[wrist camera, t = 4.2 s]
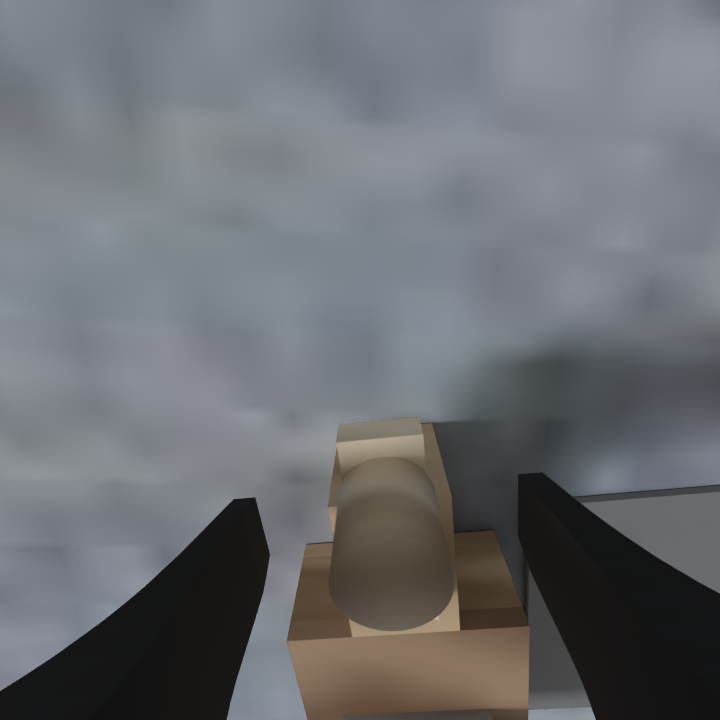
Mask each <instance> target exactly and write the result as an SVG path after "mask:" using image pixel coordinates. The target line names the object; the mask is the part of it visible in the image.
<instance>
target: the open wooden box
mask: <svg viewBox="0 0 720 720" xmlns="http://www.w3.org/2000/svg"><path fill="white" fill-rule="evenodd" d="M421 426H422V431H423V438H424V449H425V461H426V473H427V475H428V476H429V478H430V479H431V481H432V483H433V486H434V489H435V493H436V498H437V503H438V507H439V512H440V517H441V521H442V526H443V531H444V535H445V540H446V545H447V549H448V554H449V558H450V563H451V568H452V572H453V577H454V591H453V596H452V598H451V601H450V602H449V604H448V606H447V607H446V608H445V610H444V611H443V612H442V613H441V614H440V615H439V620H432V621H430V622H428V623H426V624H424V625H422V626H420V627H416V628H413V629H409V630H403V631H381V630H375V629H371V628H367V627H364V626H362V625H359V624H357V623H355V622H353V621H352V620H350V619H349V622H350V628H351V633H352V637H364V636H380V635H397V634H413V633H429V632H445V631H460V620H459V611H461V610H476V609H491V608H507V607H522V604H521V602H520V599H519V596H518V594H517V591H516V588H515V585H514V583H513V580H512V577H511V575H510V572H509V569H508V567H507V564H506V561H505V558H504V556H503V553H502V550H501V548H500V545H499V542H498V540H497V537H496V534H495V532H494V530H488V531H475V532H462V533H454V525H453V509H452V496H451V492H450V488H449V485H448V481H447V477H446V473H445V470H444V466H443V462H442V459H441V455H440V451H439V447H438V444H437V440H436V436H435V432H434V429H433V425H432V423H426V424H421ZM341 484H342V475H341V469H340V463H339V457H338V451H337V449H336V456H335V463H334V469H333V476H332V483H331V489H330V496H329V503H328V511H329V516H330V521H331V527H332V532H333V537H334V531H335V522H336V514H337V506H338V497H339V490H340V486H341ZM332 548H333V543H322V544H309V545H306V547H305V552H304V557H303V562H302V567H301V572H300V577H299V582H298V588H297V593H296V598H295V603H294V608H293V613H292V618H291V622H292V621H307V620H322V619H338V618H347V617H346V616H345V615H344V614H342V613H341V611H340V610H339V609H338V608H337V607H336V605H335V604H334V602H333V600H332V598H331V595H330V592H329V585H328V584H329V573H330V565H331V556H332Z"/></svg>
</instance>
